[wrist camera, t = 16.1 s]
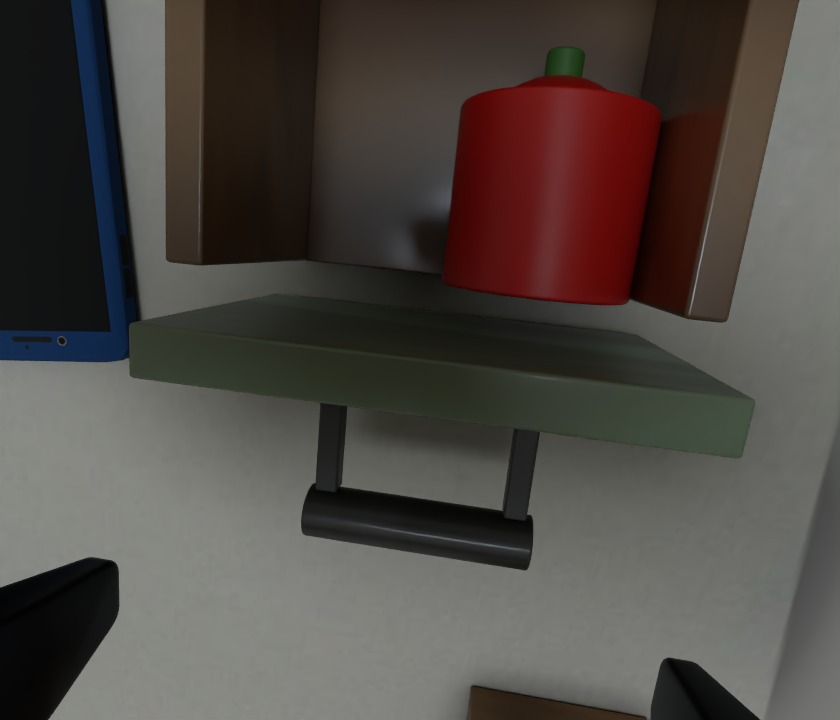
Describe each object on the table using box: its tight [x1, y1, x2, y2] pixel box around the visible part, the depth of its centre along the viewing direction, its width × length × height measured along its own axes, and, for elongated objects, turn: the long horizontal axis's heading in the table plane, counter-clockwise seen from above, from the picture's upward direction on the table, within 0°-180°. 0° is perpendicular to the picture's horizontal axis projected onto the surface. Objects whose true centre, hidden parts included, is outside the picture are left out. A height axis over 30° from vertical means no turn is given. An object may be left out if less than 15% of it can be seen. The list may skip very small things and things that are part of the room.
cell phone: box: [0, 0, 137, 362], centre depth 19 cm, size 7×14×1 cm, turn 0°
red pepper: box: [442, 46, 662, 305], centre depth 13 cm, size 5×5×6 cm
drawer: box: [129, 0, 799, 570], centre depth 13 cm, size 20×12×8 cm, turn 174°
